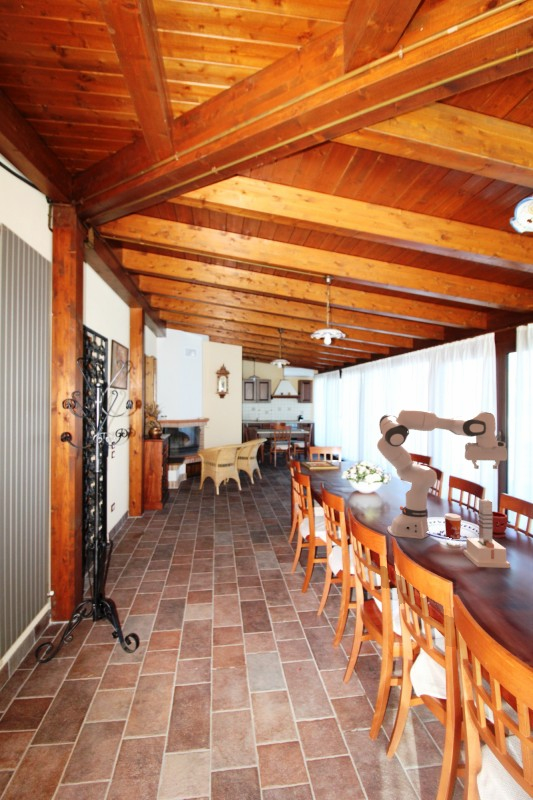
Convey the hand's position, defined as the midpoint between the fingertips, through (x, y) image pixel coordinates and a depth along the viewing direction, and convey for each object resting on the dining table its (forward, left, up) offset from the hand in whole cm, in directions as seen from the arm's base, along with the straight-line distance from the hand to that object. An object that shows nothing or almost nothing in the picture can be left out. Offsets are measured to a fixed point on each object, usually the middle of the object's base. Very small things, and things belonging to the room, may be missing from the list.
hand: (485, 468), depth 192 cm
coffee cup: (-18, -3, -39) cm, 43 cm away
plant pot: (+10, +12, -39) cm, 42 cm away
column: (-11, -22, -33) cm, 41 cm away
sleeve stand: (-11, -22, -39) cm, 46 cm away
